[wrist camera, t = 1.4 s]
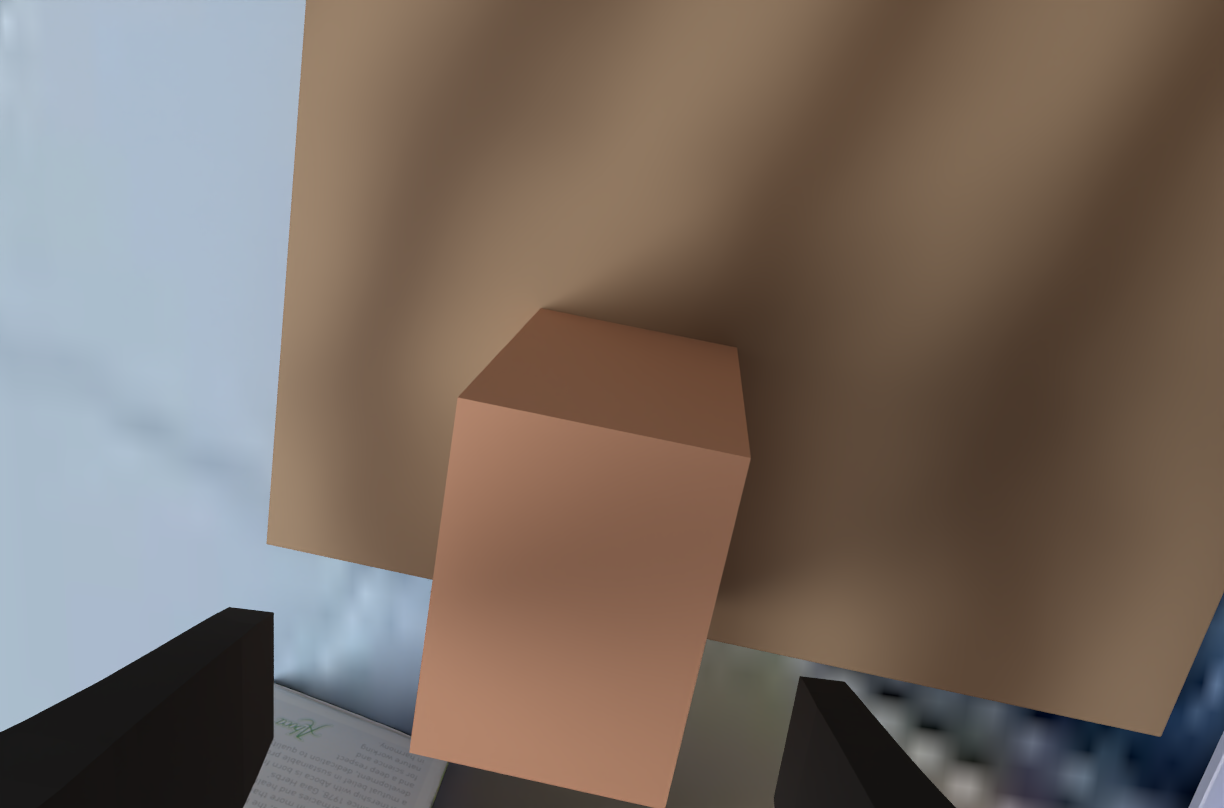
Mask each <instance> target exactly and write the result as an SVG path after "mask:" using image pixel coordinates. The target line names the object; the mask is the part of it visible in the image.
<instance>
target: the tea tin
mask: <svg viewBox="0 0 1224 808" xmlns="http://www.w3.org/2000/svg"><path fill="white" fill-rule="evenodd" d="M750 459H751V455H750V447H749V439H748V431H747V423H746V415H745V407H744V399H743V391H742V383H741V375H740V367H739V359H738V351H737V348H736V347H731V346H726V345H721V344H716V343H711V342H706V341H701V340H696V339H691V338H687V337H682V336H677V335H672V334H667V333H662V332H657V331H652V330H647V329H642V328H637V327H632V326H627V325H622V324H617V323H612V322H607V321H602V320H597V319H592V318H587V317H582V316H577V315H572V314H567V313H562V312H557V311H553V310H548V309H543V308H540V309H539V310H538V312H537V313H536V314H535V315H534V316H533V317H532V318H531V319H530V320H529V321H528V322H527V323H526V324H525V326H524V327H523V328H522V329H521V330H520V331H519V332H518V333H517V334H516V335H515V336H514V337H513V338H512V340H511V341H510V342H509V343H508V344H507V345H506V346H505V347H504V348H503V349H502V350H501V351H500V352H499V353H498V355H497V356H496V357H495V358H494V359H493V360H492V361H491V362H490V363H489V364H488V365H487V366H486V367H485V369H484V370H483V371H482V372H481V373H480V374H479V375H478V376H477V377H476V378H475V379H474V380H473V381H472V383H471V384H470V385H469V386H468V387H467V388H466V389H465V390H464V391H463V392H462V393H461V394H460V395H459V396H458V398H457V406H456V413H455V420H454V428H453V435H452V442H451V450H450V457H449V464H448V472H447V479H446V486H445V494H444V501H443V508H442V516H441V523H440V530H439V538H438V545H437V552H436V560H435V567H434V574H433V582H432V589H431V596H430V604H429V611H428V618H427V626H426V633H425V640H424V648H423V655H422V662H421V670H420V677H419V684H418V692H417V699H416V706H415V714H414V721H413V728H412V736H411V743H410V751H409V753H412V754H417V755H421V756H426V757H430V758H435V759H439V760H444V761H448V762H452V763H457V764H461V765H466V766H470V767H475V768H479V769H484V770H488V771H493V772H497V773H501V774H506V775H510V776H515V777H519V778H524V779H528V780H533V781H537V782H542V783H546V784H550V785H555V786H559V787H564V788H568V789H573V790H577V791H582V792H586V793H591V794H595V795H599V796H604V797H608V798H613V799H617V800H622V801H626V802H631V803H635V804H640V805H644V806H648V807H653V808H665V807H666V803H667V798H668V794H669V790H670V786H671V782H672V778H673V774H674V770H675V766H676V762H677V758H678V754H679V749H680V745H681V741H682V737H683V733H684V729H685V725H686V721H687V717H688V713H689V709H690V705H691V700H692V696H693V692H694V688H695V684H696V680H697V676H698V672H699V668H700V664H701V660H702V656H703V651H704V647H705V643H706V639H707V635H708V631H709V627H710V623H711V619H712V615H713V611H714V607H715V602H716V598H717V594H718V590H719V586H720V582H721V578H722V574H723V570H724V566H725V562H726V557H727V553H728V549H729V545H730V541H731V537H732V533H733V529H734V525H735V521H736V517H737V513H738V508H739V504H740V500H741V496H742V492H743V488H744V484H745V480H746V476H747V472H748V468H749V464H750Z"/></svg>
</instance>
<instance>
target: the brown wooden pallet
mask: <svg viewBox="0 0 1224 808" xmlns="http://www.w3.org/2000/svg"><path fill="white" fill-rule="evenodd" d="M540 308H543V309H548V310H553V311H557V312H562V313H567V314H572V315H577V316H582V317H587V318H592V319H597V320H602V321H607V322H612V323H617V324H622V325H627V326H632V327H637V328H642V329H647V330H652V331H657V332H662V333H667V334H672V335H677V336H682V337H687V338H691V339H696V340H701V341H706V342H711V343H716V344H721V345H726V346H731V347H736V348H737V351H738V359H739V367H740V375H741V383H742V391H743V399H744V407H745V415H746V423H747V431H748V439H749V447H750V455H751V459H750V464H749V468H748V472H747V476H746V480H745V484H744V488H743V492H742V496H741V500H740V504H739V508H738V513H737V517H736V521H735V525H734V529H733V533H732V537H731V541H730V545H729V549H728V553H727V557H726V562H725V566H724V570H723V574H722V578H721V582H720V586H719V590H718V594H717V598H716V602H715V607H714V611H713V615H712V619H711V623H710V627H709V631H708V635H707V639H710V640H714V641H719V642H723V643H728V644H733V645H737V646H742V647H747V648H751V649H756V650H761V651H765V652H770V653H774V654H779V655H784V656H788V657H793V658H798V659H802V660H807V661H812V662H816V663H821V664H825V665H830V666H835V667H839V668H844V669H849V670H853V671H858V672H863V673H867V674H872V675H876V676H881V677H886V678H890V679H895V680H900V681H904V682H909V683H914V684H918V685H923V686H927V687H932V688H937V689H941V690H946V691H951V692H955V693H960V694H964V695H969V696H974V697H978V698H983V699H988V700H992V701H997V702H1002V703H1006V704H1011V705H1015V706H1020V707H1025V708H1029V709H1034V710H1039V711H1043V712H1048V713H1053V714H1057V715H1062V716H1066V717H1071V718H1076V719H1080V720H1085V721H1090V722H1094V723H1099V724H1104V725H1108V726H1113V727H1117V728H1122V729H1127V730H1131V731H1136V732H1141V733H1145V734H1150V735H1154V736H1159V737H1161V735H1162V733H1163V730H1164V728H1165V726H1166V723H1167V721H1168V719H1169V717H1170V714H1171V712H1172V710H1173V707H1174V705H1175V703H1176V700H1177V698H1178V696H1179V694H1180V691H1181V689H1182V687H1183V684H1184V682H1185V680H1186V678H1187V675H1188V673H1189V671H1190V668H1191V666H1192V664H1193V661H1194V659H1195V657H1196V655H1197V652H1198V650H1199V648H1200V645H1201V643H1202V641H1203V639H1204V636H1205V634H1206V632H1207V629H1208V627H1209V625H1210V623H1211V620H1212V618H1213V616H1214V613H1215V611H1216V609H1217V606H1218V604H1219V602H1220V600H1221V597H1222V595H1223V593H1224V0H306V10H305V24H304V37H303V51H302V65H301V78H300V92H299V106H298V120H297V133H296V147H295V161H294V175H293V188H292V202H291V216H290V230H289V243H288V257H287V271H286V285H285V298H284V312H283V326H282V340H281V353H280V367H279V381H278V394H277V408H276V422H275V436H274V449H273V463H272V477H271V491H270V504H269V518H268V532H267V544H269V545H274V546H279V547H283V548H288V549H292V550H297V551H302V552H306V553H311V554H316V555H320V556H325V557H330V558H334V559H339V560H343V561H348V562H353V563H357V564H362V565H367V566H371V567H376V568H381V569H385V570H390V571H394V572H399V573H404V574H408V575H413V576H418V577H422V578H427V579H432V580H433V574H434V567H435V560H436V552H437V545H438V538H439V530H440V523H441V516H442V508H443V501H444V494H445V486H446V479H447V472H448V464H449V457H450V450H451V442H452V435H453V428H454V420H455V413H456V406H457V398H458V396H459V395H460V394H461V393H462V392H463V391H464V390H465V389H466V388H467V387H468V386H469V385H470V384H471V383H472V381H473V380H474V379H475V378H476V377H477V376H478V375H479V374H480V373H481V372H482V371H483V370H484V369H485V367H486V366H487V365H488V364H489V363H490V362H491V361H492V360H493V359H494V358H495V357H496V356H497V355H498V353H499V352H500V351H501V350H502V349H503V348H504V347H505V346H506V345H507V344H508V343H509V342H510V341H511V340H512V338H513V337H514V336H515V335H516V334H517V333H518V332H519V331H520V330H521V329H522V328H523V327H524V326H525V324H526V323H527V322H528V321H529V320H530V319H531V318H532V317H533V316H534V315H535V314H536V313H537V312H538V310H539V309H540Z"/></svg>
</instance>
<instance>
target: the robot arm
mask: <svg viewBox="0 0 1224 808" xmlns="http://www.w3.org/2000/svg"><path fill="white" fill-rule="evenodd" d="M273 738H274V613H273V612H264V611H256V610H248V609H240V608H231V607H229V608H227V609H225V610H223V611H221V612H219V613H217V614H215V615H213V616H211V617H210V618H208V619H206V620H204V621H203V622H201V623H199V624H197V625H196V626H194V627H192V628H191V629H189V630H187V631H185V632H184V633H182V634H180V635H179V636H177V637H175V638H174V639H172V640H170V641H168V642H167V643H165V644H163V645H162V646H160V647H158V648H157V649H155V650H153V651H151V652H150V653H148V654H146V655H144V656H143V657H141V658H139V659H138V660H136V661H134V662H132V663H131V664H129V665H127V666H125V667H124V668H122V669H120V670H118V671H117V672H115V673H113V674H112V675H110V676H108V677H106V678H105V679H103V680H101V681H99V682H97V683H95V684H93V685H92V686H90V687H88V688H86V689H84V690H82V691H80V692H78V693H76V694H74V695H73V696H71V697H69V698H67V699H65V700H63V701H61V702H59V703H57V704H55V705H53V706H52V707H50V708H48V709H46V710H44V711H42V712H40V713H38V714H36V715H34V716H33V717H31V718H29V719H27V720H25V721H23V722H21V723H19V724H17V725H14V726H12V727H10V728H8V729H6V730H4V731H2V732H0V808H243V807H244V805H245V803H246V801H247V798H248V796H249V794H250V792H251V790H252V787H253V785H254V783H255V781H256V779H257V776H258V774H259V772H260V769H261V767H262V765H263V762H264V760H265V757H266V755H267V753H268V750H269V748H270V746H271V743H272V741H273ZM774 806H775V808H956V807H955V806H954V805H953V804H952V803H951V802H950V801H949V800H948V799H947V798H946V797H945V796H944V795H943V794H942V793H941V792H940V791H939V790H938V788H937V787H936V786H935V785H934V784H933V783H932V782H931V781H930V780H929V779H928V778H927V776H926V775H925V774H924V773H923V772H922V771H921V770H920V769H919V768H918V766H917V765H916V764H915V763H914V762H913V761H912V760H911V759H910V757H909V756H908V755H907V754H906V753H905V752H904V751H903V749H902V748H901V747H900V746H899V745H898V744H897V742H896V741H895V740H894V739H893V738H892V737H891V735H890V734H889V733H888V732H887V731H886V730H885V728H884V727H883V726H882V725H881V724H880V722H879V721H878V720H877V719H876V718H875V717H874V715H873V714H872V713H871V712H870V711H869V709H868V708H867V707H866V706H865V705H864V704H863V702H862V701H861V700H860V699H859V698H858V696H857V695H856V694H855V693H854V692H853V691H852V690H851V688H850V687H849V686H848V685H847V684H846V683H845V682H842V681H834V680H826V679H817V678H809V677H801V676H800V678H799V683H798V688H797V692H796V697H795V702H794V706H793V711H792V716H791V720H790V725H789V730H788V734H787V739H786V744H785V748H784V753H783V757H782V762H781V767H780V771H779V776H778V781H777V785H776V790H775V795H774ZM1189 808H1224V732H1223V734H1222V736H1221V738H1220V740H1219V742H1218V745H1217V747H1216V749H1215V751H1214V753H1213V755H1212V758H1211V760H1210V762H1209V764H1208V766H1207V768H1206V771H1205V773H1204V775H1203V777H1202V779H1201V782H1200V784H1199V786H1198V788H1197V790H1196V792H1195V795H1194V797H1193V799H1192V801H1191V803H1190V805H1189Z"/></svg>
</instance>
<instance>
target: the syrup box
mask: <svg viewBox="0 0 1224 808" xmlns="http://www.w3.org/2000/svg"><path fill="white" fill-rule="evenodd" d="M410 743H411V736H409V735H407V734H405V733H403V732H400V731H398V730H395V729H393V728H391V727H388V726H386V725H383V724H381V723H378V722H375V721H372V720H370V719H367V718H365V717H363V716H360V715H358V714H355V713H352V712H349V711H347V710H344V709H342V708H339V707H337V706H334V705H331V704H329V703H326V702H324V701H321V700H318V699H316V698H313V697H310V696H307V695H305V694H303V693H300V692H298V691H295V690H292V689H289V688H287V687H284V686H281V685H278V684H276V683H274V738H273V741H272V743H271V746H270V748H269V750H268V753H267V755H266V757H265V760H264V762H263V765H262V767H261V769H260V772H259V774H258V776H257V779H256V781H255V783H254V785H253V787H252V790H251V792H250V794H249V796H248V798H247V801H246V803H245V805H244V807H243V808H432V806H433V803H434V801H435V798H436V795H437V793H438V790H439V787H440V785H441V782H442V779H443V777H444V774H445V771H446V769H447V766H448V763H449V762H448V761H444V760H439V759H435V758H430V757H426V756H421V755H417V754H412V753H409V751H410Z"/></svg>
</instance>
